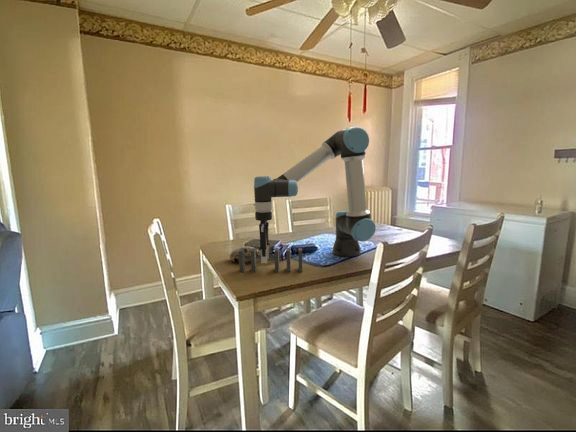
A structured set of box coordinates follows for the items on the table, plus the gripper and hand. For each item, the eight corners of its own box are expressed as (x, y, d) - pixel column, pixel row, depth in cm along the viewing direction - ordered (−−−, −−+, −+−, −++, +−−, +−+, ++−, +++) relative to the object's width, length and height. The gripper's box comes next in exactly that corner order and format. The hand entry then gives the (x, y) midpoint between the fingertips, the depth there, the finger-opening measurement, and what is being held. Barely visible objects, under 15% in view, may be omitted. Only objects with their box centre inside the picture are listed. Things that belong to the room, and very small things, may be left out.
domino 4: (279, 268, 144) (278, 247, 143) (278, 272, 139) (278, 250, 138) (275, 268, 144) (275, 248, 143) (275, 272, 139) (274, 251, 138)
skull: (260, 270, 154) (253, 260, 147) (231, 267, 160) (224, 257, 152) (265, 254, 160) (259, 243, 152) (237, 252, 165) (230, 241, 157)
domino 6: (302, 268, 144) (301, 247, 142) (302, 272, 139) (302, 250, 137) (298, 268, 144) (298, 247, 142) (298, 272, 139) (298, 250, 137)
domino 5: (290, 268, 144) (290, 247, 142) (290, 272, 139) (289, 250, 137) (287, 268, 144) (286, 247, 142) (286, 272, 139) (286, 250, 138)
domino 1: (245, 268, 145) (244, 248, 143) (243, 272, 140) (242, 251, 138) (241, 268, 145) (240, 248, 143) (239, 272, 140) (238, 251, 138)
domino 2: (256, 268, 145) (255, 248, 143) (254, 272, 140) (254, 251, 138) (253, 268, 145) (252, 248, 143) (251, 272, 140) (250, 251, 138)
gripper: (257, 208, 146) (259, 255, 150) (252, 214, 129) (254, 267, 133) (273, 208, 146) (274, 255, 150) (269, 214, 128) (271, 267, 132)
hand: (265, 260), depth 141 cm, fingers closed on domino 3, 5 cm apart
